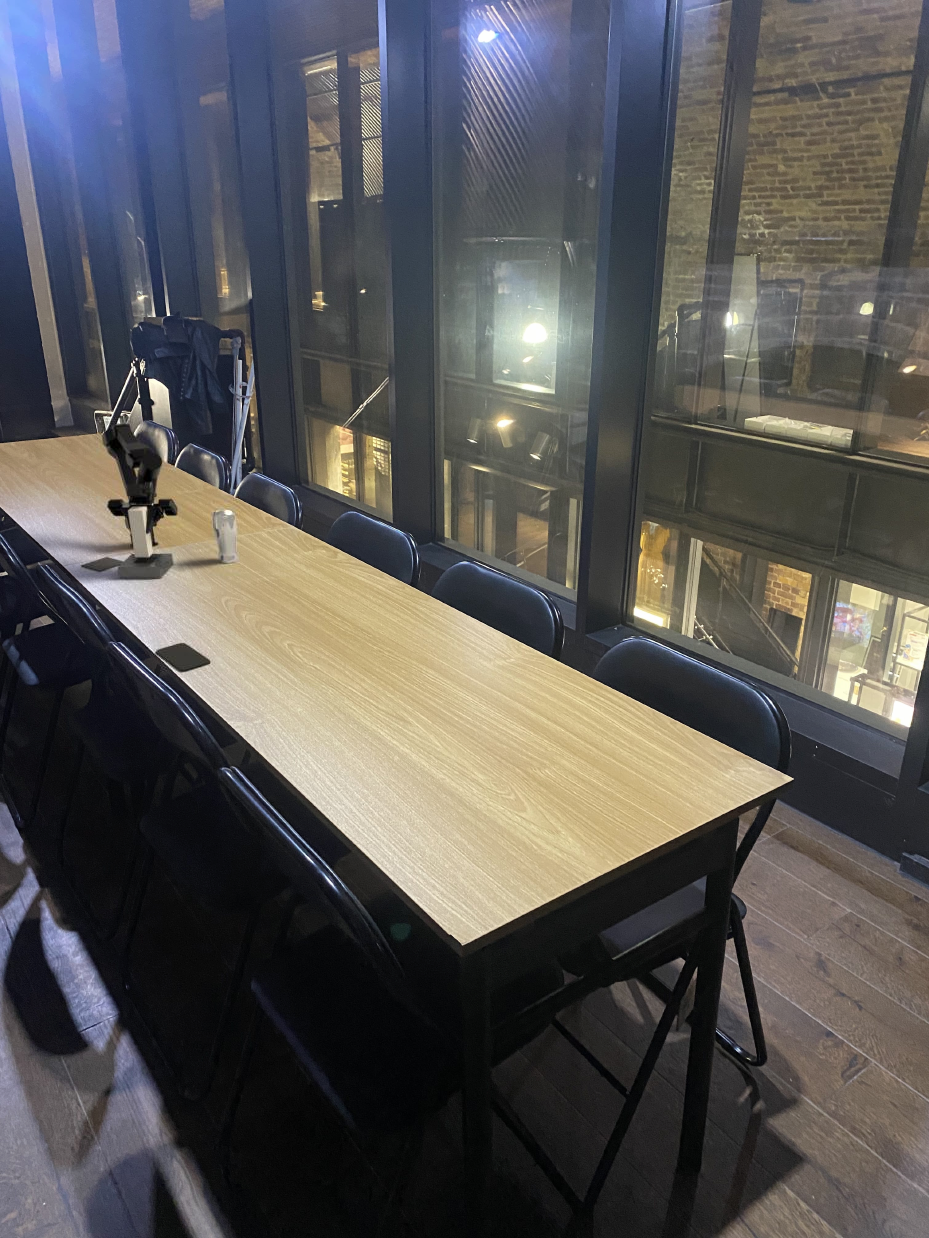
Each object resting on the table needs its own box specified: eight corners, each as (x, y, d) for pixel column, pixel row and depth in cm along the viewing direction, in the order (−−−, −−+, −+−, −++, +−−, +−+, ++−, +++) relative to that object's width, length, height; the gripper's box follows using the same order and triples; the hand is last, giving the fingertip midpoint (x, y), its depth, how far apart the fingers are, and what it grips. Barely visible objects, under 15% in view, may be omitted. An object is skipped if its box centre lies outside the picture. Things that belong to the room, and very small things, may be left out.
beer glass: (234, 564, 264) (228, 516, 258) (213, 563, 265) (207, 515, 259) (244, 557, 270) (239, 510, 264) (223, 555, 271) (217, 508, 265)
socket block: (133, 564, 264) (131, 553, 262) (173, 564, 264) (171, 553, 263) (119, 578, 253) (117, 567, 251) (161, 578, 253) (159, 566, 252)
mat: (106, 558, 270) (106, 556, 270) (125, 563, 265) (125, 561, 265) (81, 566, 263) (80, 565, 263) (100, 571, 258) (100, 570, 258)
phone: (183, 641, 211) (212, 661, 200) (184, 644, 211) (212, 664, 200) (153, 650, 206) (181, 670, 196) (154, 653, 206) (182, 674, 196)
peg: (139, 552, 258) (132, 506, 253) (153, 552, 258) (146, 506, 253) (135, 557, 254) (128, 510, 249) (148, 557, 255) (142, 510, 249)
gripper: (103, 472, 251) (95, 520, 245) (169, 471, 251) (162, 519, 245) (118, 492, 261) (110, 538, 255) (180, 491, 261) (174, 538, 255)
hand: (139, 533), depth 252 cm, fingers closed on peg, 4 cm apart
